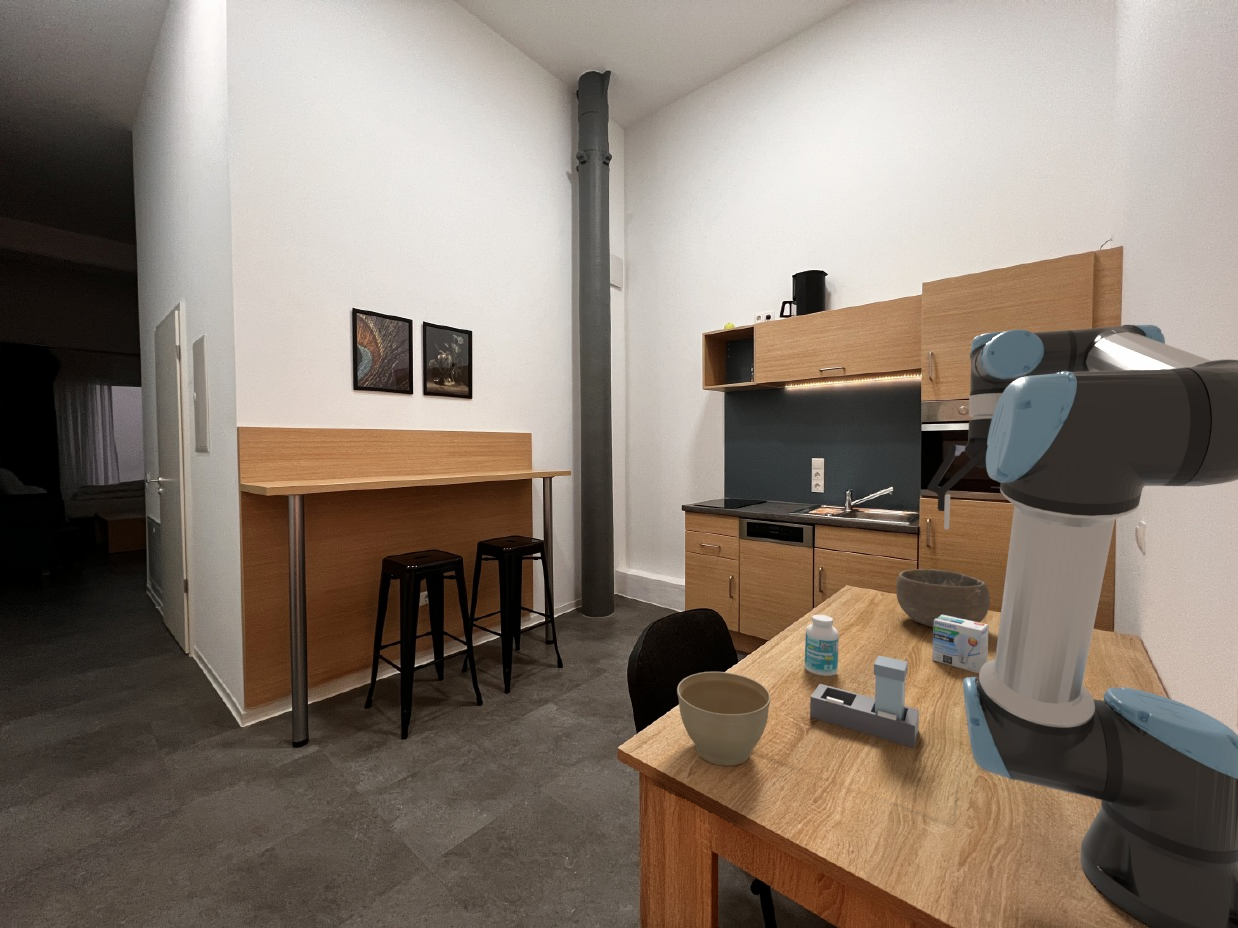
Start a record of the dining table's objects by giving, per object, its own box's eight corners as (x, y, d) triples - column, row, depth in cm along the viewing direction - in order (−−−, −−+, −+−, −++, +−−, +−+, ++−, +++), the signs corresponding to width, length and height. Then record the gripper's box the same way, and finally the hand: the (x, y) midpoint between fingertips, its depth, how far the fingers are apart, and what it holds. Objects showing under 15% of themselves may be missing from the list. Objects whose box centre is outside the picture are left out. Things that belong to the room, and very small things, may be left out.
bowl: (913, 607, 176) (914, 564, 176) (999, 627, 158) (1000, 578, 157) (882, 622, 161) (883, 574, 161) (972, 646, 142) (974, 592, 142)
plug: (902, 741, 93) (904, 670, 93) (872, 732, 96) (873, 663, 96) (905, 729, 98) (907, 661, 97) (876, 721, 100) (878, 655, 100)
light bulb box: (931, 660, 132) (932, 618, 132) (939, 653, 137) (941, 613, 137) (980, 674, 124) (982, 630, 124) (988, 666, 129) (989, 624, 129)
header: (914, 753, 92) (915, 722, 91) (809, 721, 102) (810, 693, 102) (918, 735, 97) (919, 706, 97) (819, 707, 108) (819, 680, 107)
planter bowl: (705, 717, 103) (705, 663, 103) (783, 747, 93) (784, 688, 93) (658, 753, 91) (659, 692, 90) (743, 793, 81) (744, 724, 80)
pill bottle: (802, 675, 123) (803, 619, 122) (806, 664, 129) (807, 610, 129) (836, 682, 119) (837, 624, 119) (839, 670, 126) (840, 615, 125)
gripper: (1079, 417, 92) (1075, 536, 92) (918, 420, 106) (915, 523, 107) (1086, 415, 85) (1081, 542, 86) (914, 418, 100) (911, 527, 101)
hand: (989, 532), depth 96 cm, fingers open, 13 cm apart
